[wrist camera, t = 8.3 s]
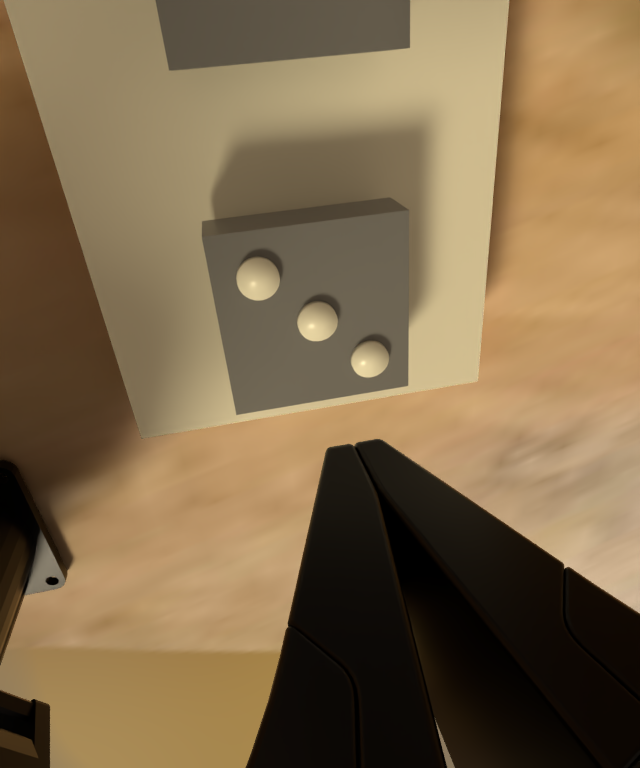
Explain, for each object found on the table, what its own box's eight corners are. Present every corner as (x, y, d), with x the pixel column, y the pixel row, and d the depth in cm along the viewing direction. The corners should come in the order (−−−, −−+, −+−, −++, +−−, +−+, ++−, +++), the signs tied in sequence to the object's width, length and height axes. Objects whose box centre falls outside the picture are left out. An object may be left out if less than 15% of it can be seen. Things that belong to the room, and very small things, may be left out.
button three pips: (392, 361, 16) (410, 389, 15) (233, 387, 16) (236, 419, 14) (390, 197, 14) (412, 211, 12) (202, 221, 13) (201, 239, 12)
